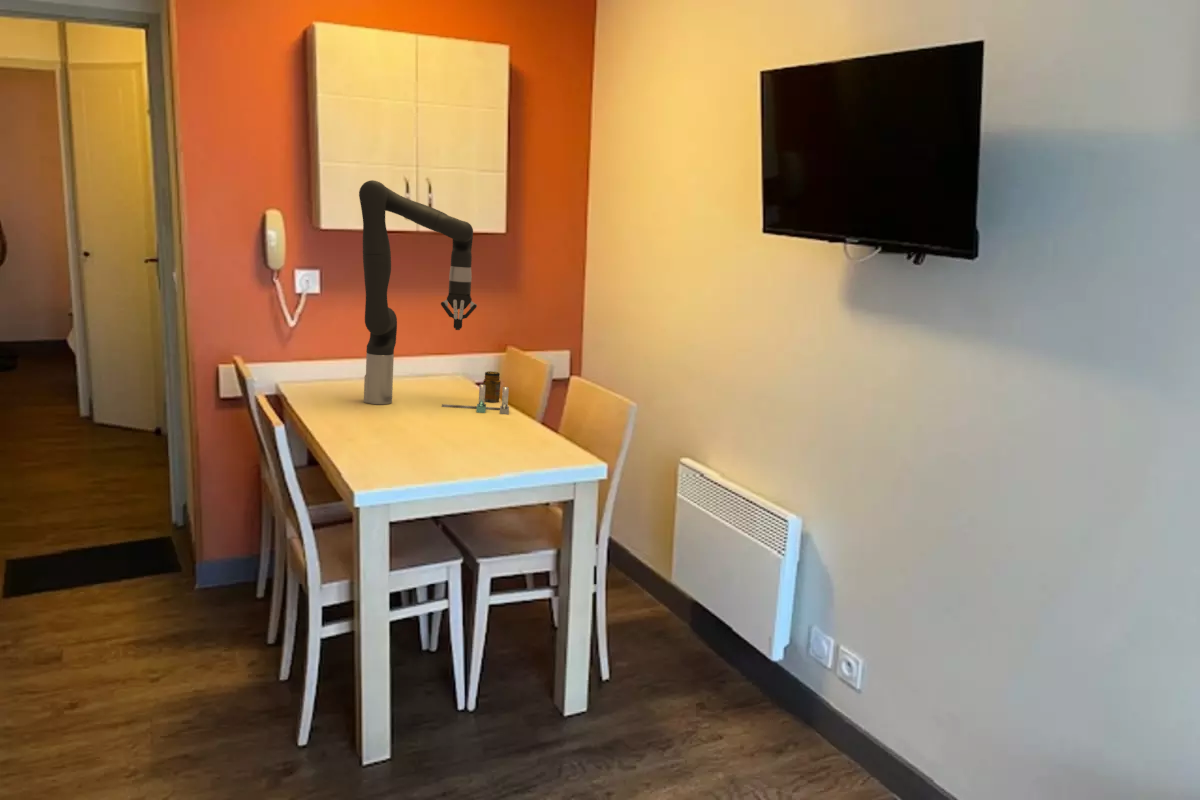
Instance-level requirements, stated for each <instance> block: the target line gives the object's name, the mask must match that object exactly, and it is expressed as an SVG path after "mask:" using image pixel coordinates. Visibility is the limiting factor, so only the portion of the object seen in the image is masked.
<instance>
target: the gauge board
mask: <svg viewBox="0 0 1200 800" xmlns="http://www.w3.org/2000/svg"><path fill="white" fill-rule="evenodd" d="M476 407H477V405H476V406H475V405H462V404H461V405H459V404H447V403H446V404H445V403H441V408H455V409H471V410H476ZM487 410H488V411H500V407H497V406H496V407H495V406H494V407H492V406H486V411H487Z"/></svg>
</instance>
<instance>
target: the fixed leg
mask: <svg viewBox="0 0 1200 800" xmlns="http://www.w3.org/2000/svg"><path fill="white" fill-rule="evenodd" d="M509 390H510V389H509V387H508V386H503V387H502V395H501V405H500V406H499V408H500V410H499V415H509V413H510V406H508V404H509Z"/></svg>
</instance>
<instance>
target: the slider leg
mask: <svg viewBox="0 0 1200 800" xmlns="http://www.w3.org/2000/svg"><path fill="white" fill-rule="evenodd" d="M476 406H477V407H476V409H475V411H476V413H480V414H481V413H482V414H485V413H486V411H487V410H486V407H487V404H486V402H485V385H483V384H479V389H478V403H476Z"/></svg>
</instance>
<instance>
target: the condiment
mask: <svg viewBox="0 0 1200 800" xmlns="http://www.w3.org/2000/svg"><path fill="white" fill-rule="evenodd" d="M500 379H501V378H500V372H498V371H490V370H489V371H488V370H487V371H485V372H484V379H483V382H482V383H483V384H482V385H485V403H489V404H494V403H500V395H501V380H500Z"/></svg>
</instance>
